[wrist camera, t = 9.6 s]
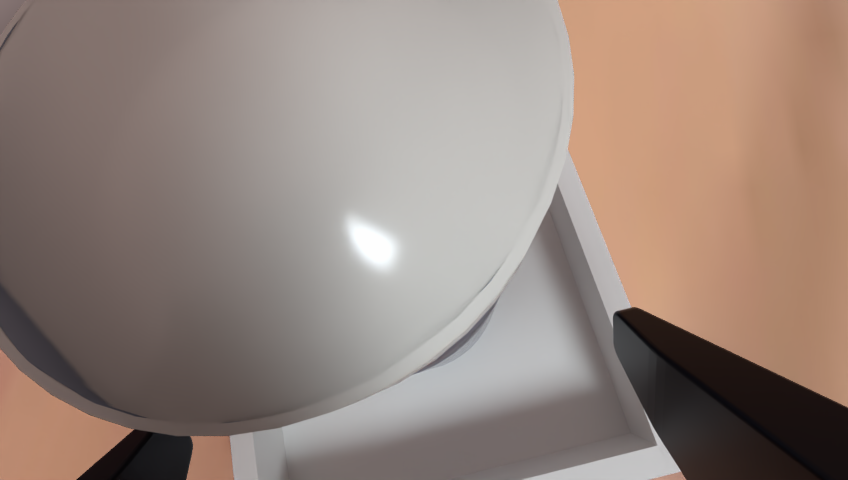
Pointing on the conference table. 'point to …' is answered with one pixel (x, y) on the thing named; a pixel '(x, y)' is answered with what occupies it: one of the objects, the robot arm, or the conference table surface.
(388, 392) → the tray
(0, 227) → the canister
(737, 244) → the conference table surface
